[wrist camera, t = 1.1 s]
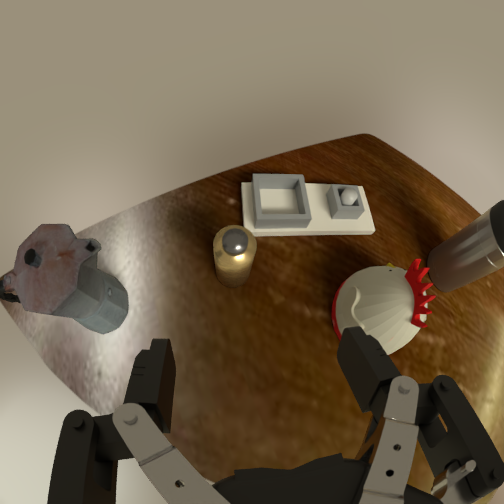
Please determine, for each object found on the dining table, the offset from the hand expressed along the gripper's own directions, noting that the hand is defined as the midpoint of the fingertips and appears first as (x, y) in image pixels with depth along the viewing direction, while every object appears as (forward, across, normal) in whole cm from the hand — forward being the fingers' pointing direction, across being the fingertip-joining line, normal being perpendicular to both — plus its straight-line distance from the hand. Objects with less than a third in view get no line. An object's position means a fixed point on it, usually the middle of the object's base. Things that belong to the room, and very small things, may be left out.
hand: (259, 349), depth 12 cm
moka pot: (+23, +20, +13) cm, 33 cm away
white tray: (+33, -13, +2) cm, 36 cm away
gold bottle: (+26, 0, +10) cm, 28 cm away
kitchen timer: (+21, -21, +15) cm, 33 cm away
